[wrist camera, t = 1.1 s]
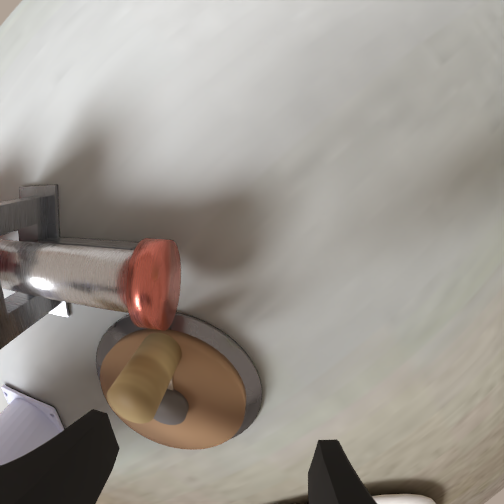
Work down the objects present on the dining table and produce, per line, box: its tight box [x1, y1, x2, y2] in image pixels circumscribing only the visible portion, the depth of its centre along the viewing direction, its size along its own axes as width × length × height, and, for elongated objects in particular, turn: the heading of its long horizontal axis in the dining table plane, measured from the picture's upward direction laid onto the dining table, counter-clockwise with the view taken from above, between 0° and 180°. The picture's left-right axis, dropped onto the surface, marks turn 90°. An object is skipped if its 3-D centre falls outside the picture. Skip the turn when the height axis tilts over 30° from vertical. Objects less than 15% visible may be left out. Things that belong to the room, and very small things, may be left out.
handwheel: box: [100, 329, 246, 449], centre depth 16 cm, size 10×10×6 cm
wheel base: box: [96, 313, 262, 439], centre depth 19 cm, size 12×12×1 cm
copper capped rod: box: [0, 238, 181, 331], centre depth 14 cm, size 4×13×4 cm, turn 87°
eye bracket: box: [0, 185, 139, 349], centre depth 14 cm, size 9×10×7 cm
